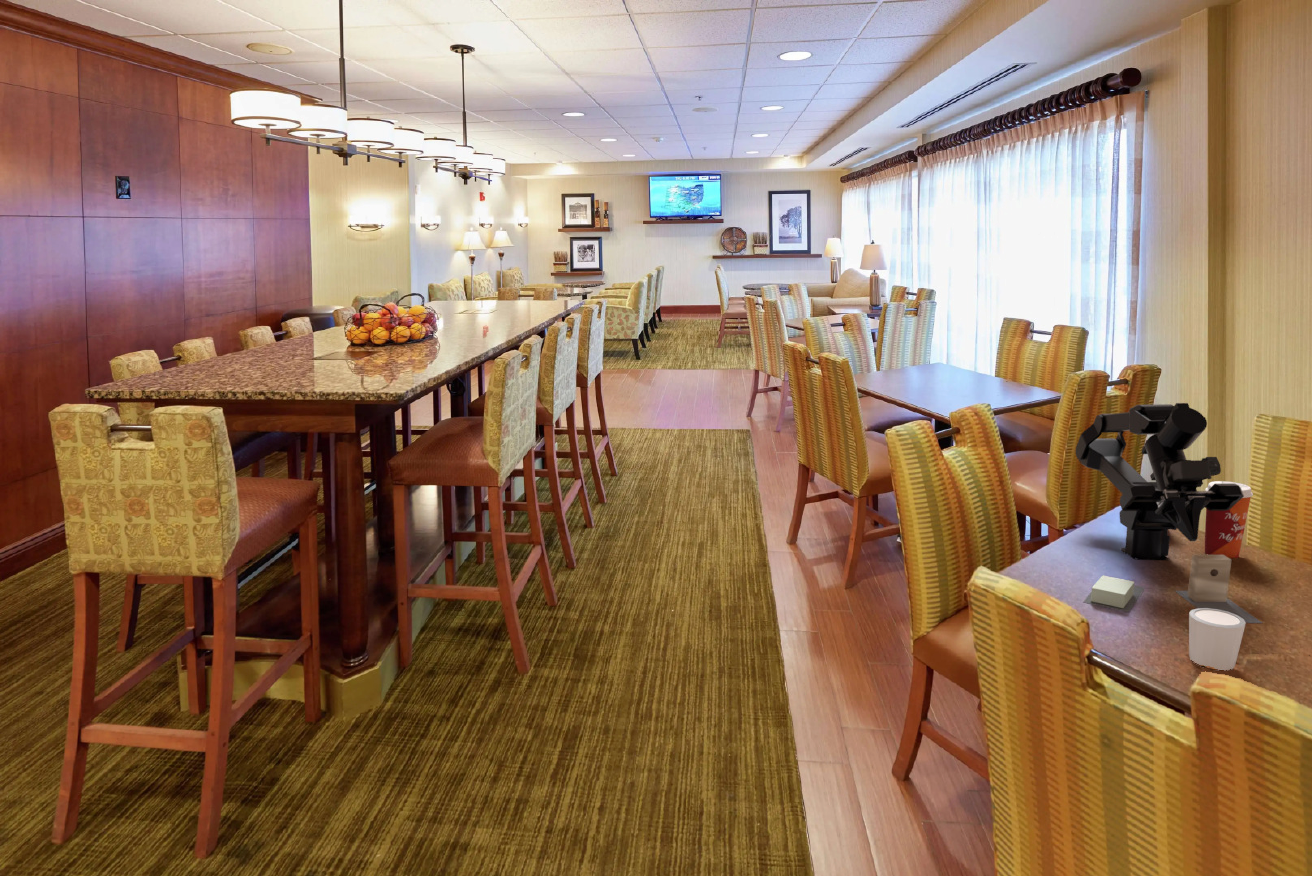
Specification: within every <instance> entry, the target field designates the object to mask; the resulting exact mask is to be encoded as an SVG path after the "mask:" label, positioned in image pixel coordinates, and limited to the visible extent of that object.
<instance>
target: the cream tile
mask: <svg viewBox="0 0 1312 876" xmlns="http://www.w3.org/2000/svg"><path fill="white" fill-rule="evenodd" d="M1190 563H1191V564H1190V571H1189V572H1190V573H1189V580H1188V589H1187V591H1188V597H1190V598H1191V599H1192V600H1194V601H1195V602H1226V600H1227V598H1228V589H1229V583H1230V582H1229V581H1230V574H1231V565H1232V558H1228V557H1226V556H1225V555H1207V554H1192V555H1191V561H1190Z"/></svg>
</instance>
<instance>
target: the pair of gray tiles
mask: <svg viewBox="0 0 1312 876" xmlns="http://www.w3.org/2000/svg"><path fill="white" fill-rule="evenodd" d="M1145 590H1146V587H1145V586H1144V587H1143V586H1140V585H1135V584H1134V592H1133V596H1132V597H1131V599H1130V600H1129V601H1128V603H1127V604H1126V605H1125V607H1124V608H1120V607H1115V606H1111V605H1106V604H1101V603H1097V602H1092V601H1091V592H1090V593H1088V595H1087V596H1086V598H1085V599H1084V600H1083V603H1084V604H1088V605H1093V606H1098V607H1102V608H1106V609H1112V610H1115V611H1120V612H1125V613H1130V612H1131V610H1132V609H1133V607H1134V606H1135V604H1136V603H1137V601H1138V600H1139V598H1140V597H1141V595H1142V593H1143V592H1144V591H1145ZM1174 592H1175V593H1176V594H1178V595H1179V596H1180V597H1182V598H1183V599H1184V600H1186V601H1187V602H1188V603H1190V604H1191V605H1192V606H1194V608H1195V609H1198V608H1210V609H1218V610H1222V611H1227V612H1230V613H1233V614H1235V615H1238V616H1239V617H1241V618H1242V619H1244V621H1245V622H1246V624H1263V622H1262V621H1261V620H1259V618H1256V617H1255V616H1253V615H1252V614H1250V612H1248V611H1246V610H1245V609H1244V608H1243V607H1241V606H1239V605H1238V604H1236V603H1235V602H1234V601H1232V600H1231V599H1229V598H1228V597H1227V600H1226V602H1195V601H1194V600H1192V599H1191V598H1190V597H1188V590H1174Z"/></svg>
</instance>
